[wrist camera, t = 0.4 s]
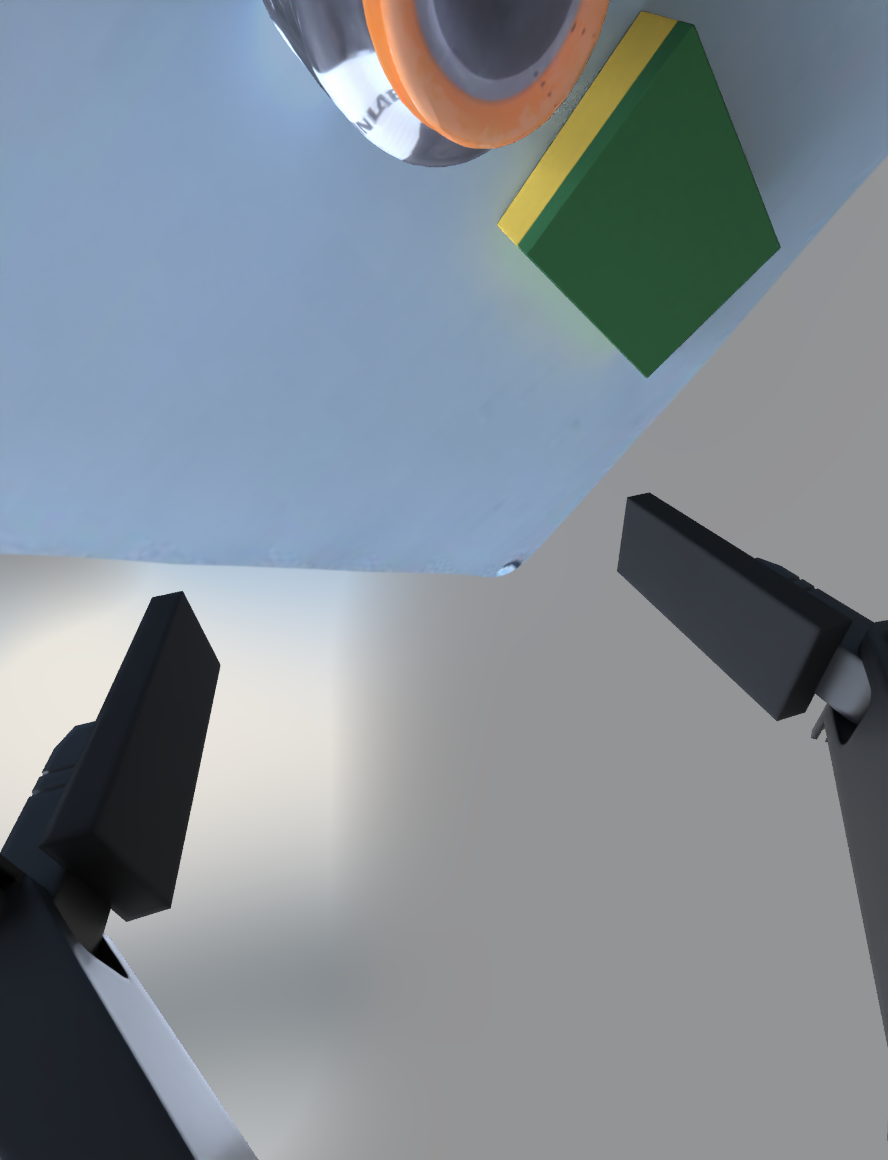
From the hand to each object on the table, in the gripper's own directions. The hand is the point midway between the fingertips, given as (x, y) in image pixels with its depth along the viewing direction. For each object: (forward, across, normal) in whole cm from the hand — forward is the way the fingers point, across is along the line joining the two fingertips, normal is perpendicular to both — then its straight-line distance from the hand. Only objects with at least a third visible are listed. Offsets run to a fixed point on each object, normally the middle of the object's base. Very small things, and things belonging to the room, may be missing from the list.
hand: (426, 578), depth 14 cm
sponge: (+13, +14, +8) cm, 20 cm away
